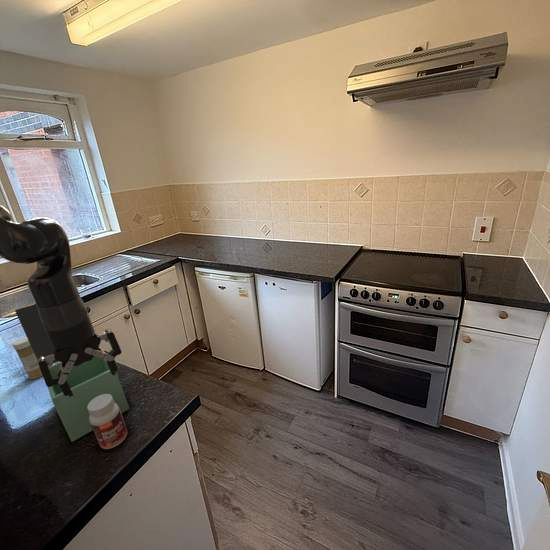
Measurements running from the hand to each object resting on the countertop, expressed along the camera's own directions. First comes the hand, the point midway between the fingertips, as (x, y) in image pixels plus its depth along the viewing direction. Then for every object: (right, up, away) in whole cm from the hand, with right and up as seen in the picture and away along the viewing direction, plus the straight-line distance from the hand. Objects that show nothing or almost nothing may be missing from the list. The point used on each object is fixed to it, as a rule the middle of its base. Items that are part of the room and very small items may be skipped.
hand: (92, 383), depth 66 cm
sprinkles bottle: (-38, -9, +32) cm, 51 cm away
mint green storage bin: (-9, -13, +16) cm, 22 cm away
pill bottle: (+2, -15, +6) cm, 17 cm away
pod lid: (-17, +10, +14) cm, 24 cm away
